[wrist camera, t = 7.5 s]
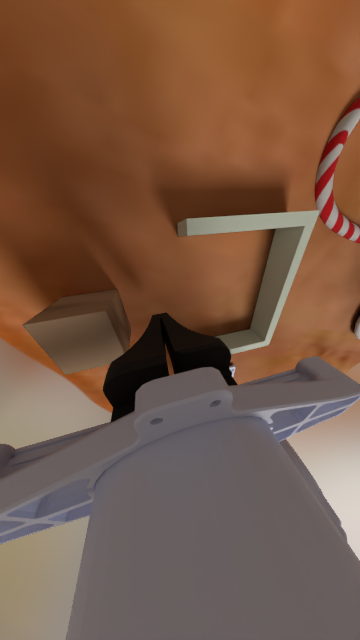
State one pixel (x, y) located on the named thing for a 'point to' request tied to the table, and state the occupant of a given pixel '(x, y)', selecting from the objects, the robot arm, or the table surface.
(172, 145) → the table surface
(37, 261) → the table surface
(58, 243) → the table surface
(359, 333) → the candelabra
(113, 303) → the tan cube
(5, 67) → the table surface
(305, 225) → the sage corner frame
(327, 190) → the candy cane
